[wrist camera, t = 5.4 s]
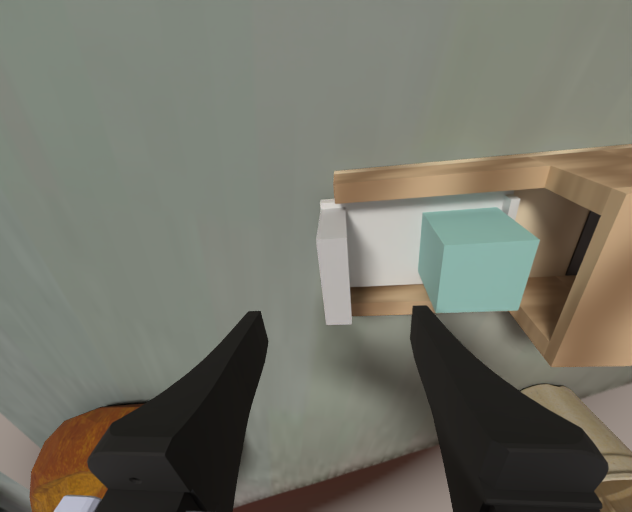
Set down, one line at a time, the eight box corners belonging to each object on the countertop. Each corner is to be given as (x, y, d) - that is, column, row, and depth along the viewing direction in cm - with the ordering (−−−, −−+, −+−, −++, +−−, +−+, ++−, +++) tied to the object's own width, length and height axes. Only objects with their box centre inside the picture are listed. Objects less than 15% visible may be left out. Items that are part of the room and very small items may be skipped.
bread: (22, 442, 42) (-86, 563, 31) (149, 352, 30) (45, 499, 19) (144, 499, 49) (90, 613, 39) (285, 446, 38) (263, 589, 27)
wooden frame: (637, 143, 17) (825, 178, 11) (579, 281, 22) (682, 365, 15) (334, 171, 19) (331, 215, 13) (343, 291, 24) (344, 369, 18)
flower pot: (616, 393, 28) (716, 504, 21) (536, 437, 32) (595, 541, 25) (543, 357, 26) (623, 464, 19) (470, 409, 31) (511, 512, 23)
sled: (509, 184, 18) (563, 216, 14) (488, 275, 21) (527, 324, 17) (320, 199, 19) (315, 232, 15) (329, 282, 23) (326, 329, 18)
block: (496, 207, 18) (540, 239, 14) (483, 267, 20) (518, 310, 16) (422, 212, 19) (444, 245, 15) (417, 271, 21) (435, 313, 17)
